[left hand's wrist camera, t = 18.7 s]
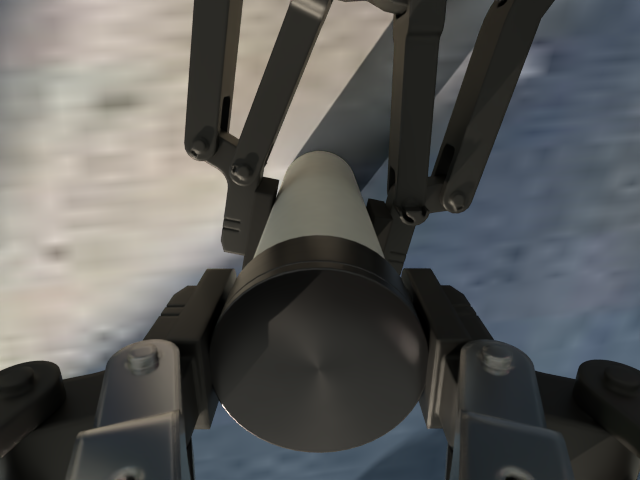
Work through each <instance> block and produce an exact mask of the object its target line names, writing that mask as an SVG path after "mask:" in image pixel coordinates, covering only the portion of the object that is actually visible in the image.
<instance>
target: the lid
mask: <svg viewBox="0 0 640 480" xmlns="http://www.w3.org/2000/svg"><path fill="white" fill-rule="evenodd" d="M428 354H429V347H428V341H427V338H426V335H425V332H424V329H423V327H422V324H421V322H420V320H419V317H418V315H417V312H416V310H415V308H414V305H413V303H412V301H411V298H410V296H409V293H408V291H407V289H406V287H405V285H404V283H403V281H402V279H401V277H400V276H399V274H398V273H397V272H396V270H395V269H394V268H393V267H392V266H391V265H390V264H389V262H388V261H387V260H385V259H384V258H383V257H382V256H380V255H379V254H378V253H377V252H375V251H373V250H372V249H370V248H368V247H367V246H364V245H362V244H360V243H357V242H355V241H352V240H349V239H345V238H342V237H335V236H329V235H311V236H302V237H297V238H292V239H289V240H286V241H283V242H280V243H277V244H275V245H273V246H272V247H270V248H268V249H266V250H264V251H263V252H261V253H260V254H259V255H257V256H256V257H255V258H254V259H252V260H251V261H250V262H249V263H248V264H247V265H246V266H245V268H244V269H243V270H242V271H241V272H240V274H239V275H238V277H237V279H236V280H235V282H234V284H233V286H232V289H231V291H230V293H229V296H228V298H227V300H226V303H225V305H224V307H223V309H222V312H221V314H220V316H219V319H218V321H217V323H216V326H215V328H214V330H213V333H212V336H211V340H210V344H209V361H210V370H211V379H212V386H213V389H214V391H215V394H216V396H217V397H218V399H219V401H220V403H221V404H222V406H223V407H224V409H225V410H226V411H227V412H228V414H229V415H230V416H231V417H232V418H233V419H234V420H235V421H236V422H237V423H238V424H239V425H241V426H242V427H243V428H244V429H246V430H247V431H248V432H250V433H252V434H253V435H255V436H257V437H258V438H260V439H262V440H264V441H267V442H269V443H271V444H274V445H277V446H280V447H283V448H287V449H291V450H295V451H303V452H320V453H323V452H336V451H341V450H347V449H351V448H355V447H358V446H361V445H364V444H366V443H369V442H371V441H374V440H375V439H377V438H379V437H381V436H383V435H385V434H386V433H388V432H389V431H390V430H392V429H393V428H395V427H396V426H397V425H398V424H399V423H400V422H402V421H403V420H404V419H405V418H406V416H407V415H408V414H409V413H410V412H411V411H412V409H413V408H414V406H415V405H416V404H417V402H418V401H419V399H420V396H421V394H422V392H423V390H424V387H425V382H426V373H427V364H428Z"/></svg>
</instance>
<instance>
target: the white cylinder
mask: <svg viewBox="0 0 640 480" xmlns="http://www.w3.org/2000/svg"><path fill="white" fill-rule="evenodd" d="M311 235H329V236H335V237H342V238H345V239H349V240H352V241H355V242H357V243H360V244H362V245H364V246H367V247H368V248H370V249H372V250H373V251H375V252H377V253H378V254H379V255H380V256H382V257H383V258H384V255H383V252H382V250H381V247H380V244H379V241H378V239H377V236H376V233H375V231H374V228H373V225H372V222H371V220H370V217H369V214H368V212H367V209H366V206H365V203H364V201H363V198H362V195H361V193H360V190H359V187H358V185H357V182H356V179H355V176H354V174H353V171H352V170H351V168H350V166H349V165H348V164H347V163H346V162H345V161H344V160H343V159H342V158H341V157H339V156H337V155H335V154H333V153H330V152H326V151H313V152H309V153H306V154H304V155H302V156H300V157H298V158H297V159H296V160H295V161H294V162H293V163H292V164H291V165H290V166H289V168H288V169H287V171H286V174H285V176H284V179H283V181H282V184H281V187H280V189H279V192H278V195H277V197H276V200H275V203H274V205H273V208H272V210H271V213H270V216H269V218H268V221H267V224H266V226H265V229H264V232H263V234H262V237H261V239H260V242H259V245H258V247H257V250H256V253H255V255H254V258H255V257H256V256H257V255H259V254H260V253H261V252H263V251H264V250H266V249H268V248H270V247H272V246H273V245H275V244H277V243H280V242H283V241H286V240H289V239H292V238H297V237H302V236H311ZM254 258H253V259H254ZM384 259H385V258H384Z"/></svg>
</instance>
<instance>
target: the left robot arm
mask: <svg viewBox="0 0 640 480" xmlns="http://www.w3.org/2000/svg"><path fill="white" fill-rule="evenodd" d="M236 279H237V278H236V272H235V270H234V269H207V270H206V271H205V273H204V275H203V276H202V278H201V280H200V281H199V283H198V285H197V286H186V287H185V288H183V289H182V290H180V291H179V292H177V293H176V294H174V295H173V297H172V298H171V300H170V301H169V303H168V304H167V307H165V309H164V310H163V312H162V313H161V316H159V317H158V319H157V320H156V322H155V323H154V325H153V326H152V328H151V329H150V331H149V332H148V334H147V335H146V337H145V338H144V340H143V341H140V342H136V343H133V344H131V345H128V346H126V347H124V348H122V349H121V350H119V351H117V352H116V353H115V354H114V355H113V356H112V357H111V358H110V359H109V361H108V362H107V365H106V369H105V370H104V371H101V372H97V373H93V374H88V375H83V376H78V377H73V378H68V379H62V375H61V372H60V369H59V367H58V366H57V365H56V364H54V363H52V362H49V361H31V362H25V363H21V364H17V365H14V366H11V367H8V368H6V369H4V370H1V371H0V480H195V466H194V452H193V445H192V438H191V436H192V433H193V431H194V429H210V427H211V424H212V421H213V418H214V414H215V411H216V408H217V405H218V402H219V399H218V397H217V396H216V394H215V391H214V389H213V386H212V379H211V370H210V361H209V344H210V340H211V336H212V333H213V330H214V328H215V326H216V323H217V321H218V319H219V316H220V314H221V312H222V309H223V307H224V305H225V303H226V300H227V298H228V296H229V293H230V291H231V289H232V286H233V284H234V282H235V280H236ZM401 279H402V281H403V283H404V285H405V287H406V289H407V291H408V293H409V296H410V298H411V301H412V303H413V305H414V308H415V310H416V312H417V315H418V317H419V320H420V322H421V324H422V327H423V329H424V332H425V335H426V338H427V341H428V347H429V354H428V364H427V373H426V382H425V387H424V390H423V392H422V394H421V396H420V399H419V403H420V406H421V410H422V413H423V416H424V419H425V423H426V426H427V428H443V430H444V433H445V436H446V439H447V441H448V445H447V452H446V466H445V480H637V477H638V474H639V471H640V371H639V370H637V369H635V368H633V367H630V366H628V365H625V364H622V363H618V362H614V361H609V360H589V361H586V362H584V363H582V364H581V365H580V366H579V368H578V372H577V376H576V379H571V378H566V377H561V376H556V375H551V374H546V373H542V372H538V371H535V369H534V365H533V362H532V361H531V359H530V358H529V357H528V356H527V355H526V354H525V353H524V352H523V351H521V350H519V349H518V348H516V347H514V346H512V345H509V344H507V343H504V342H500V341H496V340H494V339H493V338H492V336H491V335H490V333H489V332H488V330H487V329H486V327H485V326H484V324H483V323H482V321H481V320H480V318H479V317H478V316H476V312H475V311H474V309H473V308H472V307H471V305H470V303H469V302H468V300H467V299H466V297H465V296H464V294H462V293H461V292H459V291H458V290H456V289H455V288H453V287H452V286H450V285H440V283H439V282H438V280H437V278H436V277H435V275H434V273H433V272H432V270H431V269H430V268H404V269H403V271H402V276H401Z"/></svg>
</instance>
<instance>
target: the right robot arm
mask: <svg viewBox="0 0 640 480" xmlns="http://www.w3.org/2000/svg"><path fill="white" fill-rule="evenodd" d="M340 1H344V2H351V1H368V2H370V3H371V4H373V5H375V6H376V7H378V8H380V9H381V10H383V11H385V12H390V13H394V20H393V40H394V60H393V80H392V100H391V120H390V140H389V160H388V180H387V195H388V197H387V200H386V204H385V202H384V201H379V200H374V199H369V198H368V202H367V206H366V209H367V212H368V214H369V217H370V220H371V222H372V225H373V228H374V231H375V233H376V236H377V239H378V241H379V244H380V247H381V250H382V252H383V255H384V258H385V260H387V261H388V262H389V264H390V265H391V266H392V267H393V268H394V269H395V270H396V272H397V273H398V274H399V276H400V274H401V271H402V267H403V264H404V261H405V258H406V254H407V251H408V248H409V245H410V242H411V238H412V235H413V232H414V229H415V226H416V225H419V224H421V223H423V222H424V221H425V220H426V219H427V218H428V215H429V213H434V212H441V211H449V212H451V213H460V212H463V211H465V210H466V209H467V208H468V207H469V206H470V204H471V202H472V200H473V197H474V195H475V192H476V189H477V187H478V184H479V181H480V179H481V176H482V173H483V171H484V168H485V166H486V163H487V160H488V158H489V155H490V152H491V150H492V147H493V144H494V142H495V139H496V136H497V134H498V131H499V129H500V126H501V123H502V121H503V118H504V115H505V113H506V110H507V107H508V105H509V102H510V100H511V97H512V94H513V92H514V89H515V86H516V84H517V81H518V78H519V76H520V73H521V70H522V68H523V65H524V63H525V60H526V57H527V55H528V52H529V49H530V47H531V44H532V41H533V39H534V36H535V34H536V31H537V28H538V26H539V23H540V20H541V18H542V17H543V15H544V14H545V13H546V11H547V10H548V9H549V7H550V6H551V5H552V3H553V2H554V1H555V0H495V1H494V2H493V4H492V5H491V7H490V9H489V11H488V13H487V15H486V17H485V19H484V21H483V24H482V26H481V29H480V31H479V34H478V37H477V40H476V43H475V46H474V49H473V52H472V55H471V58H470V61H469V64H468V67H467V70H466V73H465V76H464V79H463V82H462V85H461V88H460V91H459V94H458V97H457V100H456V103H455V106H454V109H453V112H452V115H451V118H450V121H449V124H448V127H447V130H446V133H445V136H444V139H443V142H442V145H441V148H440V151H439V154H438V157H437V160H436V163H435V166H434V169H433V172H432V175H431V177H428V167H429V156H430V144H431V132H432V120H433V108H434V97H435V85H436V73H437V61H438V50H439V40H440V36H441V34H442V31H443V27H444V22H445V12H446V1H447V0H340ZM332 2H333V0H291V2H290V5H289V8H288V11H287V13H286V16H285V19H284V21H283V24H282V27H281V29H280V32H279V35H278V37H277V40H276V43H275V45H274V48H273V51H272V53H271V56H270V59H269V61H268V64H267V67H266V69H265V72H264V75H263V77H262V80H261V83H260V85H259V88H258V91H257V93H256V96H255V99H254V101H253V104H252V107H251V109H250V112H249V115H248V117H247V120H246V123H245V125H244V128H243V131H242V133H241V136H240V139H237V138H236V137H234V136H233V135H231V134H229V128H230V118H231V109H232V99H233V90H234V81H235V71H236V62H237V52H238V43H239V33H240V24H241V14H242V5H243V0H194V10H193V25H192V39H191V54H190V68H189V83H188V97H187V112H186V126H185V141H184V144H185V150H186V151H187V153H188V155H189V156H190V157H191V158H193V159H195V160H197V161H205V162H207V163H208V164H210V165H212V166H213V167H215V168H217V169H218V170H220V171H221V172H222V173H223V174H224V176H225V177H226V179H227V183H228V192H227V199H226V207H225V214H224V222H223V229H222V236H221V242H222V246H223V250H224V252H228V253H233V254H239V255H244V261H243V267H242V270H243V269H244V268H245V266H246V265H247V264H248V263H249V262H250V261H251V260H252V259H253V258H254V255H255V253H256V250H257V247H258V245H259V242H260V239H261V237H262V234H263V232H264V229H265V226H266V224H267V221H268V218H269V216H270V213H271V210H272V208H273V205H274V203H275V200H276V195H277V190H278V184H279V180H277V179H272V178H267V177H263V172H264V167H265V166H266V164H267V161H268V158H269V156H270V153H271V151H272V148H273V146H274V143H275V141H276V138H277V136H278V133H279V131H280V129H281V126H282V124H283V121H284V119H285V116H286V114H287V111H288V109H289V106H290V104H291V101H292V99H293V97H294V94H295V92H296V89H297V87H298V84H299V82H300V79H301V77H302V74H303V72H304V69H305V67H306V65H307V62H308V60H309V57H310V55H311V52H312V50H313V47H314V45H315V42H316V40H317V37H318V35H319V33H320V30H321V28H322V25H323V23H324V21H325V19H326V16H327V14H328V12H329V9H330V7H331V4H332Z"/></svg>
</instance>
